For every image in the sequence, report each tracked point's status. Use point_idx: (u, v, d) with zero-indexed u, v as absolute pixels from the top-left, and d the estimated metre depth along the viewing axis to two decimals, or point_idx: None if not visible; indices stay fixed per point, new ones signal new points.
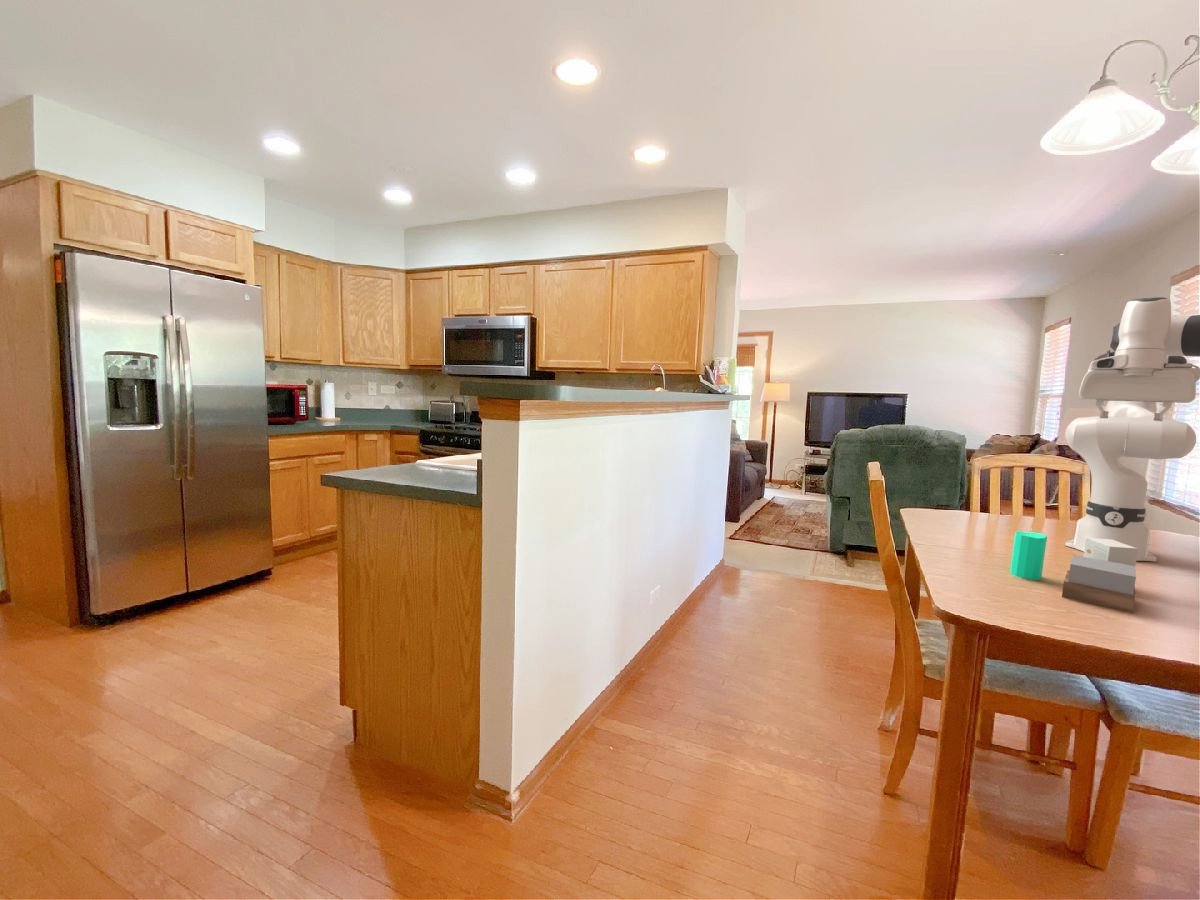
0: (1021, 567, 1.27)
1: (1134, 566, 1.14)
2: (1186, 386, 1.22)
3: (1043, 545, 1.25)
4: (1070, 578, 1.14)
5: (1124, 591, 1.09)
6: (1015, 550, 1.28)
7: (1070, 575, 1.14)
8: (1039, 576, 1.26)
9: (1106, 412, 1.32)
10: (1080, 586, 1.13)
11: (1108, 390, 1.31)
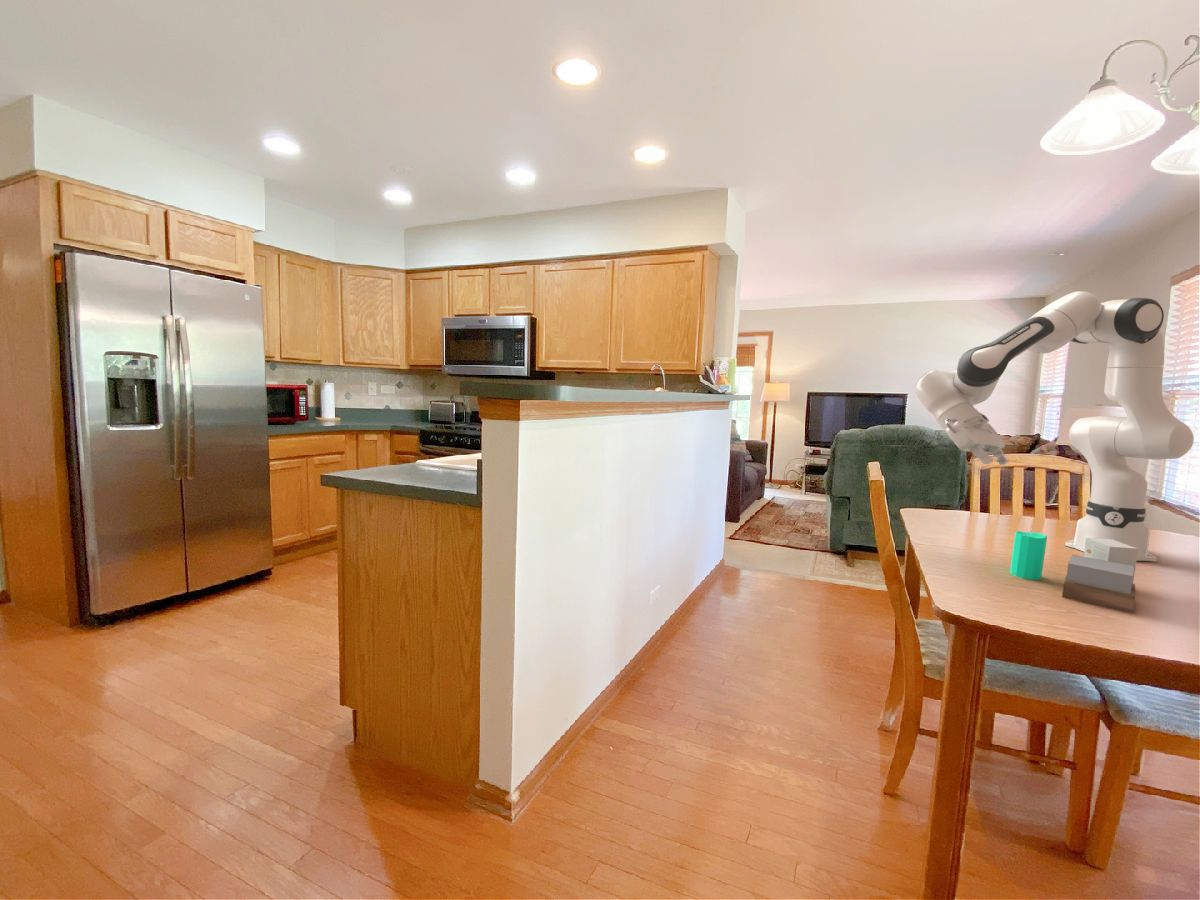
0: (1021, 567, 1.27)
1: (1132, 566, 1.14)
2: None
3: (1043, 545, 1.25)
4: (1068, 577, 1.15)
5: (1121, 590, 1.09)
6: (1015, 550, 1.28)
7: (1068, 574, 1.15)
8: (1039, 576, 1.26)
9: (997, 461, 1.37)
10: (1081, 586, 1.13)
11: None
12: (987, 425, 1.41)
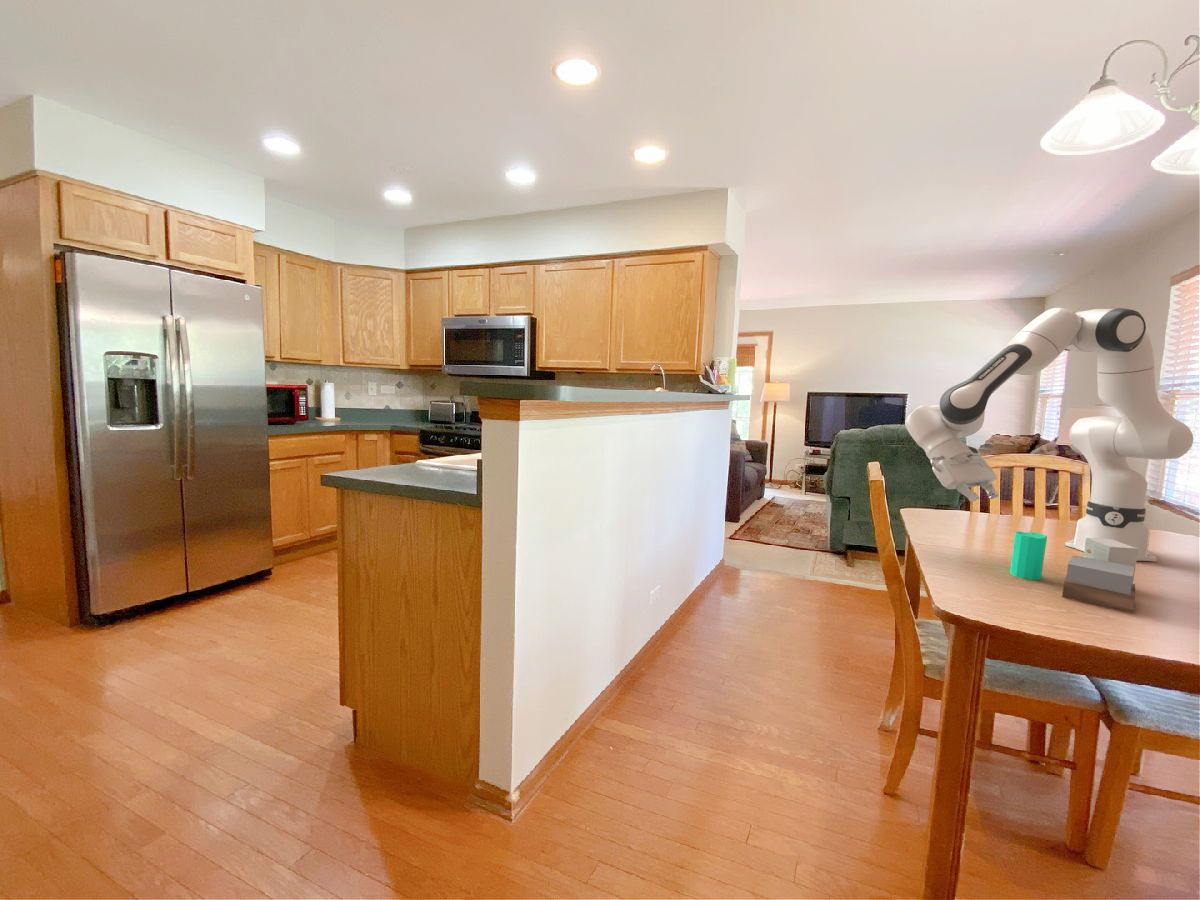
0: (1021, 567, 1.27)
1: (1133, 566, 1.14)
2: None
3: (1043, 545, 1.25)
4: (1068, 578, 1.15)
5: (1121, 591, 1.09)
6: (1015, 550, 1.28)
7: (1068, 575, 1.15)
8: (1039, 576, 1.26)
9: None
10: (1081, 586, 1.13)
11: None
12: (977, 458, 1.43)
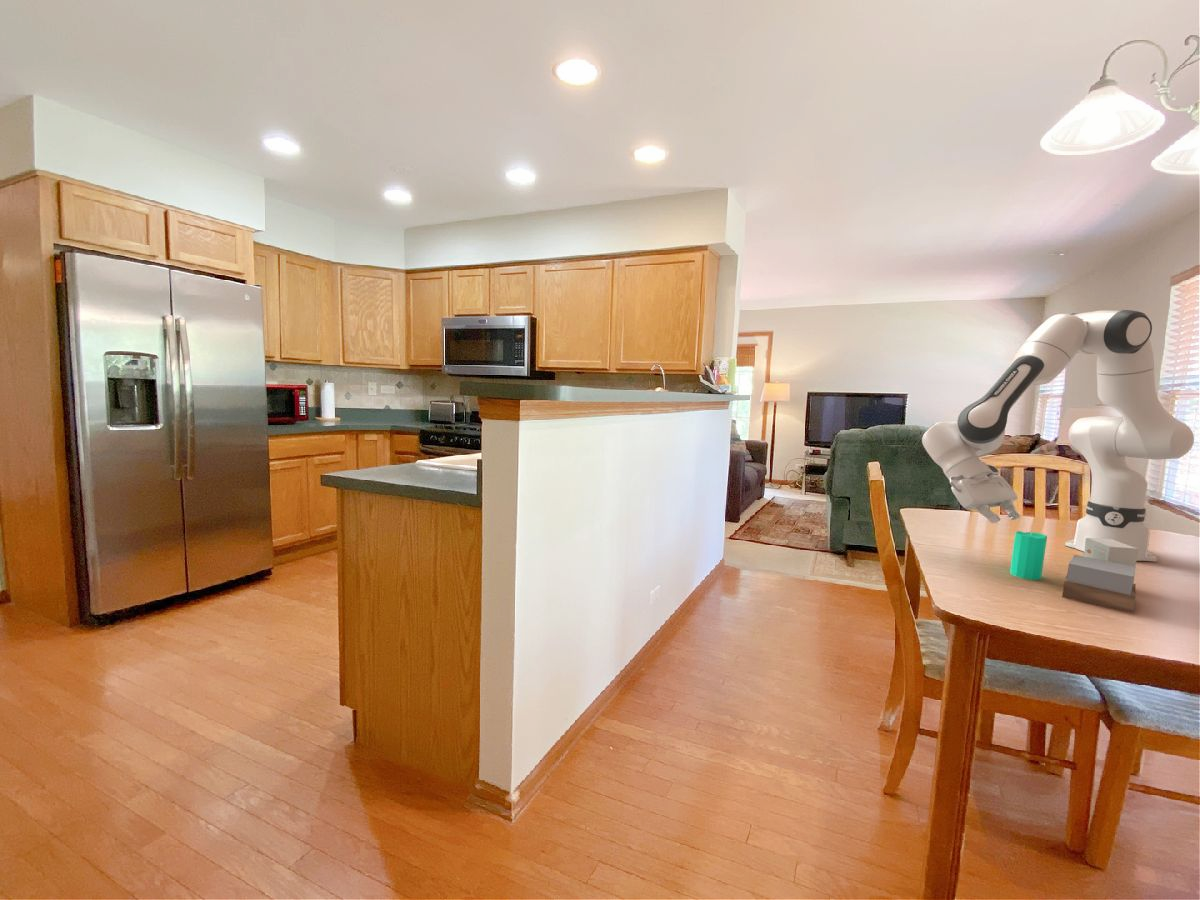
0: (1021, 567, 1.27)
1: None
2: None
3: (1043, 545, 1.25)
4: (1068, 577, 1.15)
5: (1122, 591, 1.09)
6: (1015, 550, 1.28)
7: (1068, 574, 1.15)
8: (1039, 576, 1.26)
9: None
10: (1081, 586, 1.13)
11: None
12: (997, 478, 1.39)
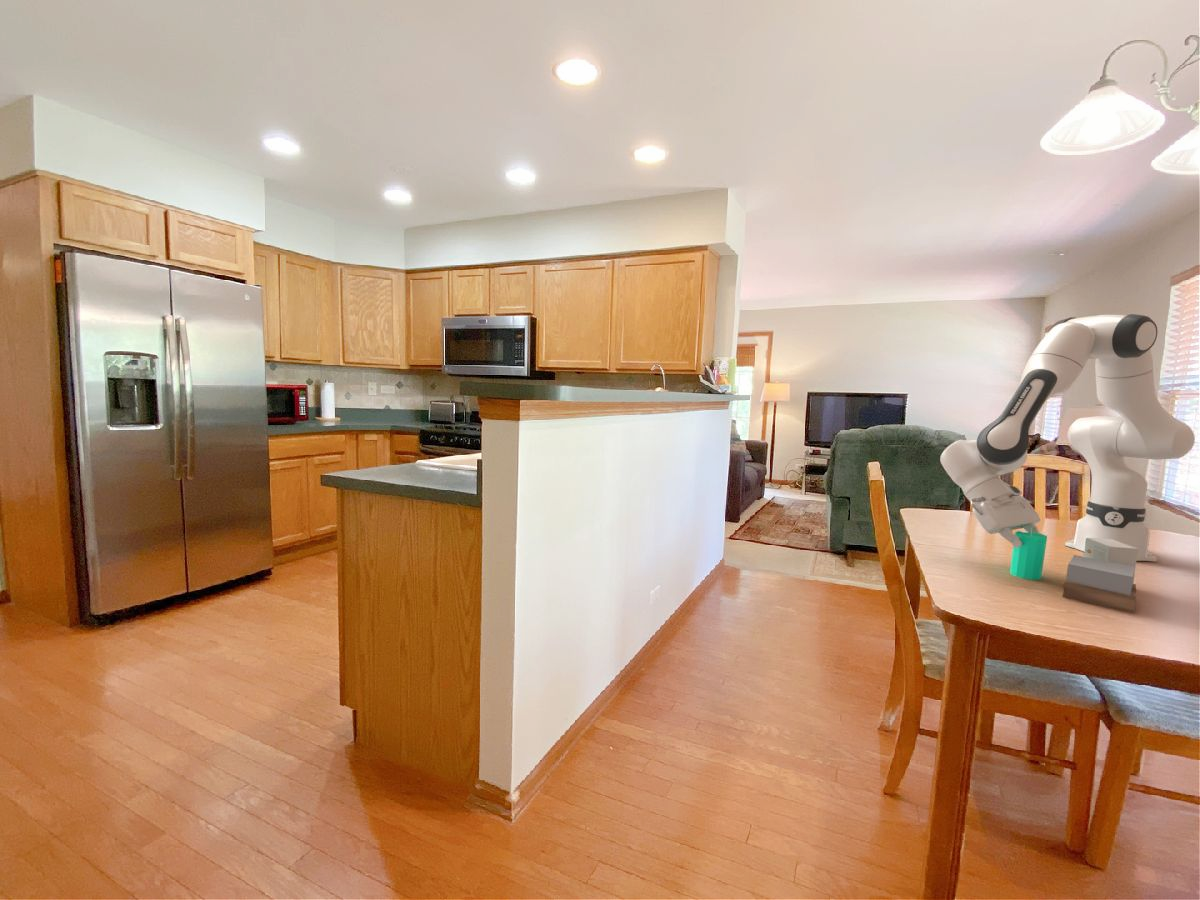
0: (1021, 567, 1.27)
1: None
2: None
3: (1043, 545, 1.25)
4: (1068, 578, 1.15)
5: (1121, 591, 1.09)
6: (1015, 550, 1.28)
7: (1068, 575, 1.15)
8: (1039, 576, 1.26)
9: None
10: (1081, 587, 1.13)
11: None
12: (1019, 499, 1.34)
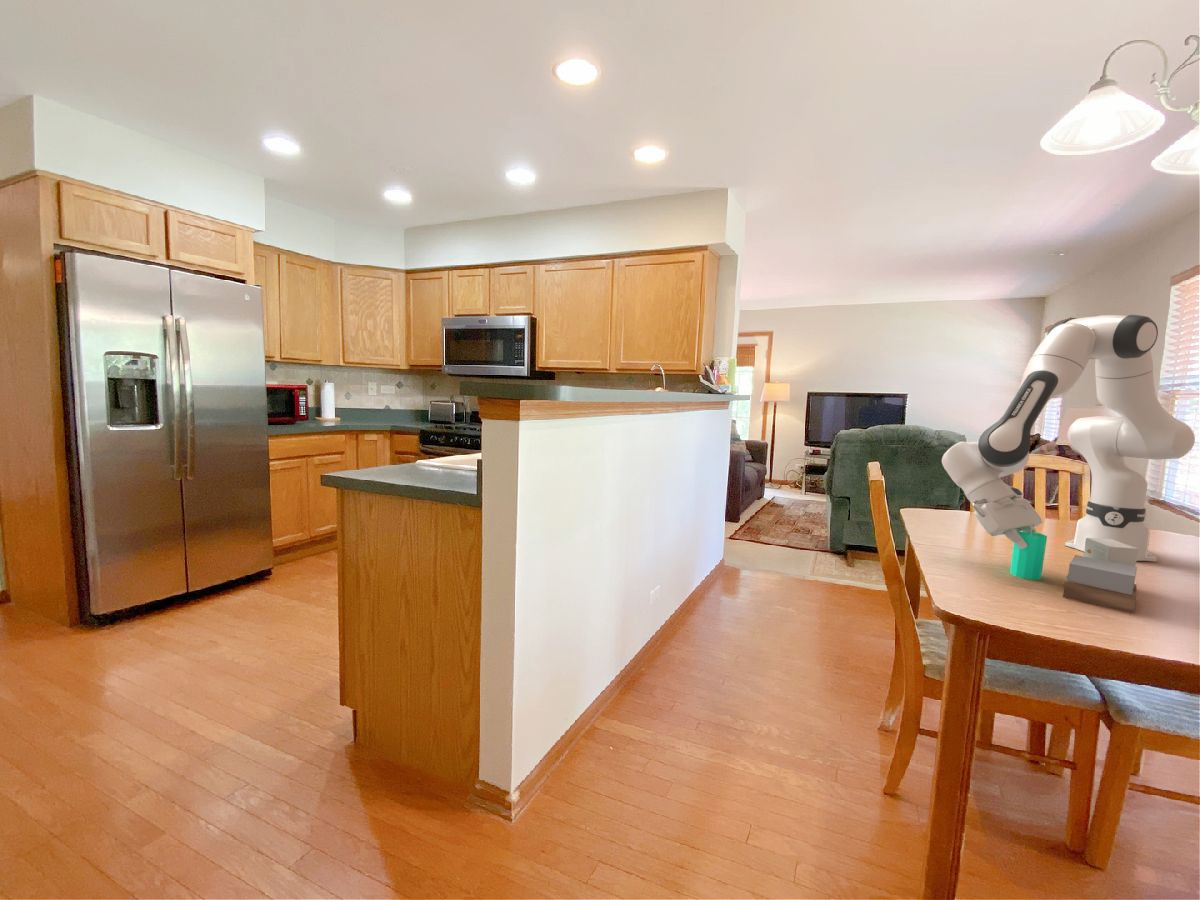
0: (1021, 567, 1.27)
1: None
2: None
3: (1043, 545, 1.25)
4: (1069, 577, 1.15)
5: (1123, 591, 1.09)
6: (1015, 550, 1.28)
7: (1069, 574, 1.15)
8: (1039, 576, 1.26)
9: None
10: (1081, 586, 1.13)
11: None
12: (1021, 501, 1.34)
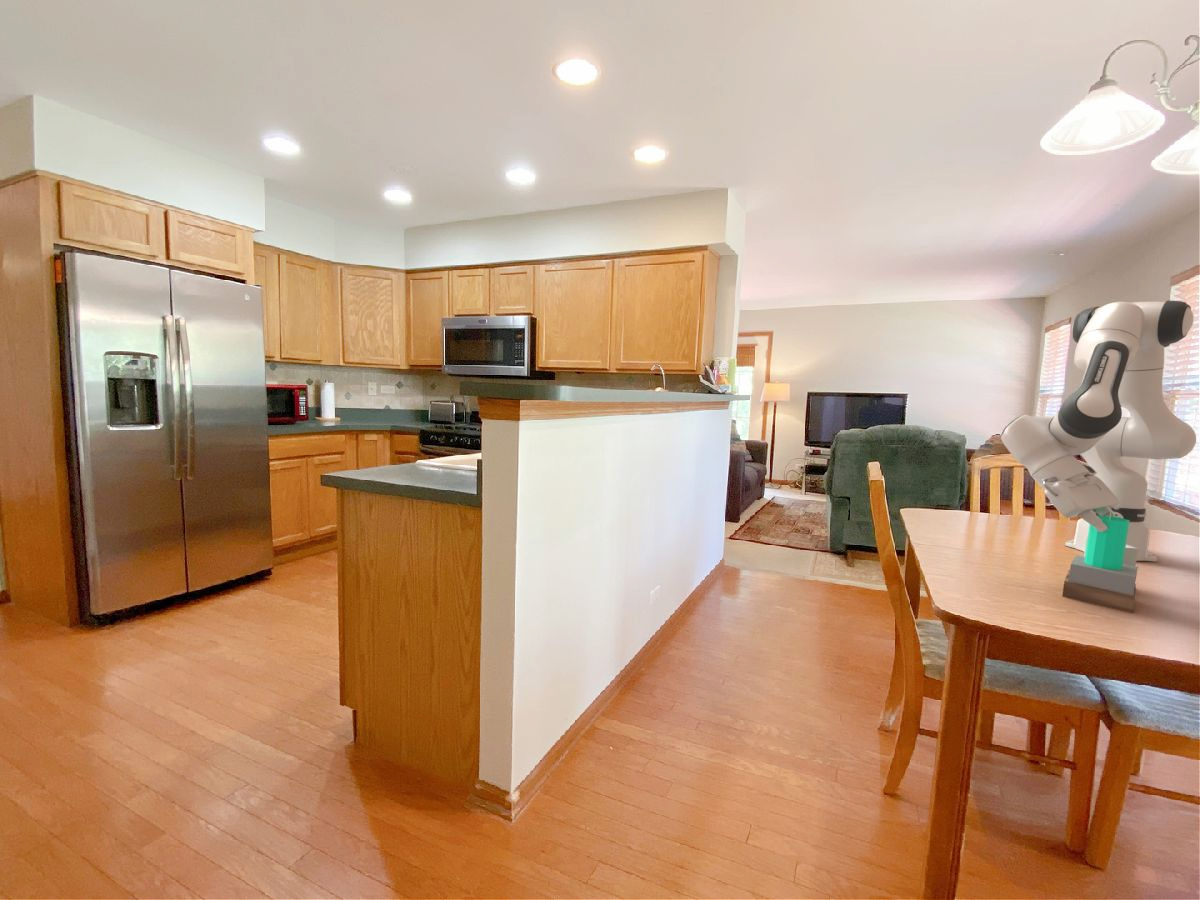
0: (1099, 555, 1.13)
1: None
2: None
3: (1125, 530, 1.11)
4: (1070, 578, 1.15)
5: (1124, 591, 1.09)
6: (1091, 536, 1.14)
7: (1071, 575, 1.15)
8: (1120, 565, 1.12)
9: None
10: (1081, 586, 1.13)
11: None
12: (1095, 479, 1.20)
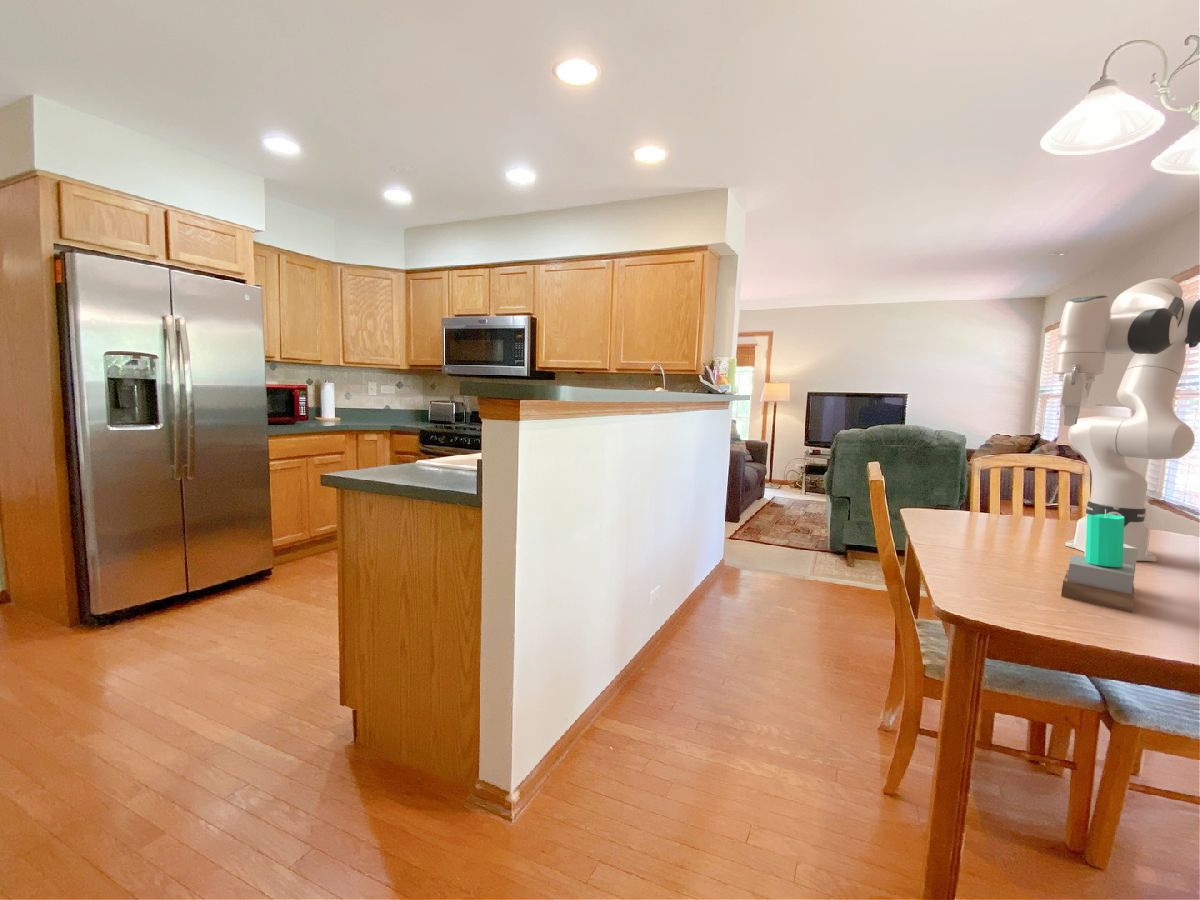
0: (1103, 554, 1.13)
1: (1132, 565, 1.15)
2: None
3: (1123, 526, 1.12)
4: (1069, 577, 1.15)
5: (1123, 590, 1.09)
6: (1092, 535, 1.14)
7: (1069, 574, 1.15)
8: (1122, 562, 1.12)
9: None
10: (1079, 586, 1.13)
11: None
12: None
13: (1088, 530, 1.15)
